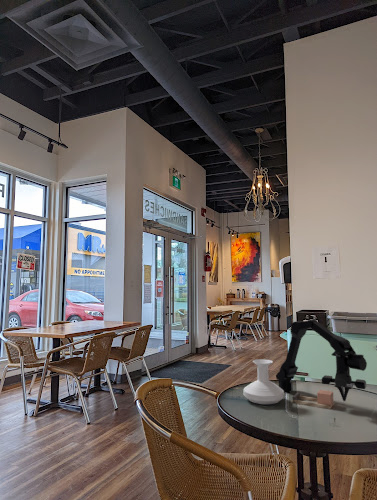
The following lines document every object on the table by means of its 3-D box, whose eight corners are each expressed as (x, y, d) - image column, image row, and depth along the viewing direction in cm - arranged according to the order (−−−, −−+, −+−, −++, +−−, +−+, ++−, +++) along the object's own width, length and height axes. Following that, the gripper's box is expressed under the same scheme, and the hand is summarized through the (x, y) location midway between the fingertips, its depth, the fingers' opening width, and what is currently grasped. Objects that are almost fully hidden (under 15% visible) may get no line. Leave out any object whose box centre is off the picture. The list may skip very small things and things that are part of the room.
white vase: (292, 401, 180) (291, 361, 182) (267, 410, 168) (266, 367, 169) (260, 392, 196) (259, 355, 197) (235, 400, 183) (234, 361, 185)
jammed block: (317, 406, 172) (317, 392, 173) (320, 402, 178) (320, 389, 178) (331, 408, 169) (330, 394, 170) (333, 404, 174) (333, 391, 175)
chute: (291, 403, 178) (291, 396, 178) (296, 398, 185) (296, 392, 185) (330, 409, 168) (330, 402, 168) (334, 404, 175) (334, 397, 176)
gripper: (318, 367, 169) (319, 402, 167) (362, 372, 159) (364, 409, 157) (323, 363, 178) (325, 396, 177) (365, 367, 168) (367, 402, 167)
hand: (344, 400), depth 169 cm, fingers closed
